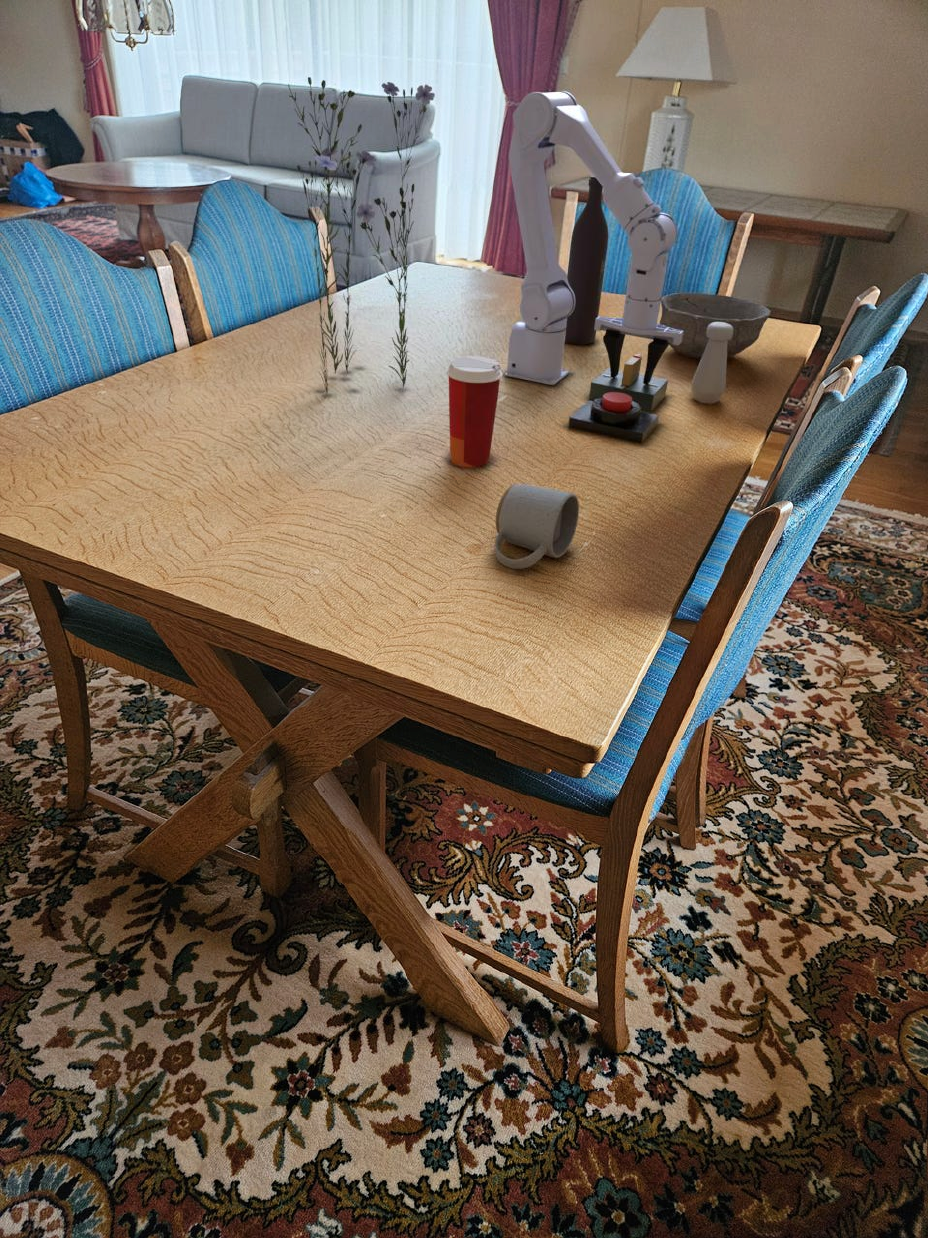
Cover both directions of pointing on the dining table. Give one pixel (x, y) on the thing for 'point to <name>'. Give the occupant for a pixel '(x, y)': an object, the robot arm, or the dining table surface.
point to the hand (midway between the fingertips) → (630, 379)
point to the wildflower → (360, 213)
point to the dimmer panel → (630, 389)
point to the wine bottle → (587, 267)
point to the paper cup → (472, 408)
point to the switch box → (614, 421)
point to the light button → (616, 401)
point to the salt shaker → (712, 365)
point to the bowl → (712, 320)
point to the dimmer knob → (631, 370)
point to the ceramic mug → (535, 522)
